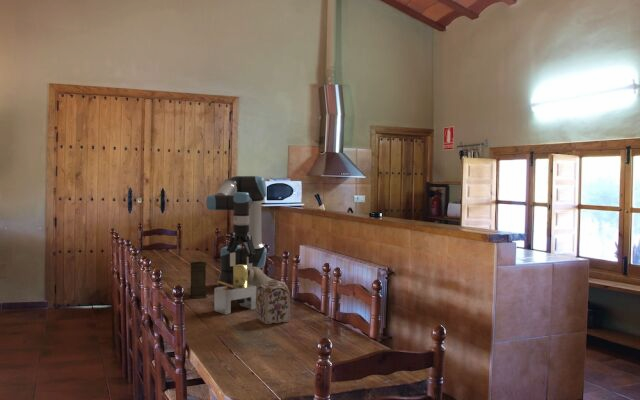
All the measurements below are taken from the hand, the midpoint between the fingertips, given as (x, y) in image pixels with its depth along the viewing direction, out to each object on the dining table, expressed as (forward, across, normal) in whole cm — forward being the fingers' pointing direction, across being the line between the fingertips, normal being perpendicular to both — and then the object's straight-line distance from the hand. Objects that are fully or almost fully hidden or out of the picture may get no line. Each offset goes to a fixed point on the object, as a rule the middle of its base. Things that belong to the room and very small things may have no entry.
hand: (240, 268), depth 268 cm
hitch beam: (+20, 0, -4) cm, 20 cm away
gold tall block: (+17, 0, 0) cm, 17 cm away
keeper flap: (+7, 0, -9) cm, 12 cm away
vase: (+20, -7, +20) cm, 29 cm away
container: (+20, -36, -2) cm, 41 cm away
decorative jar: (+20, +28, -2) cm, 34 cm away
